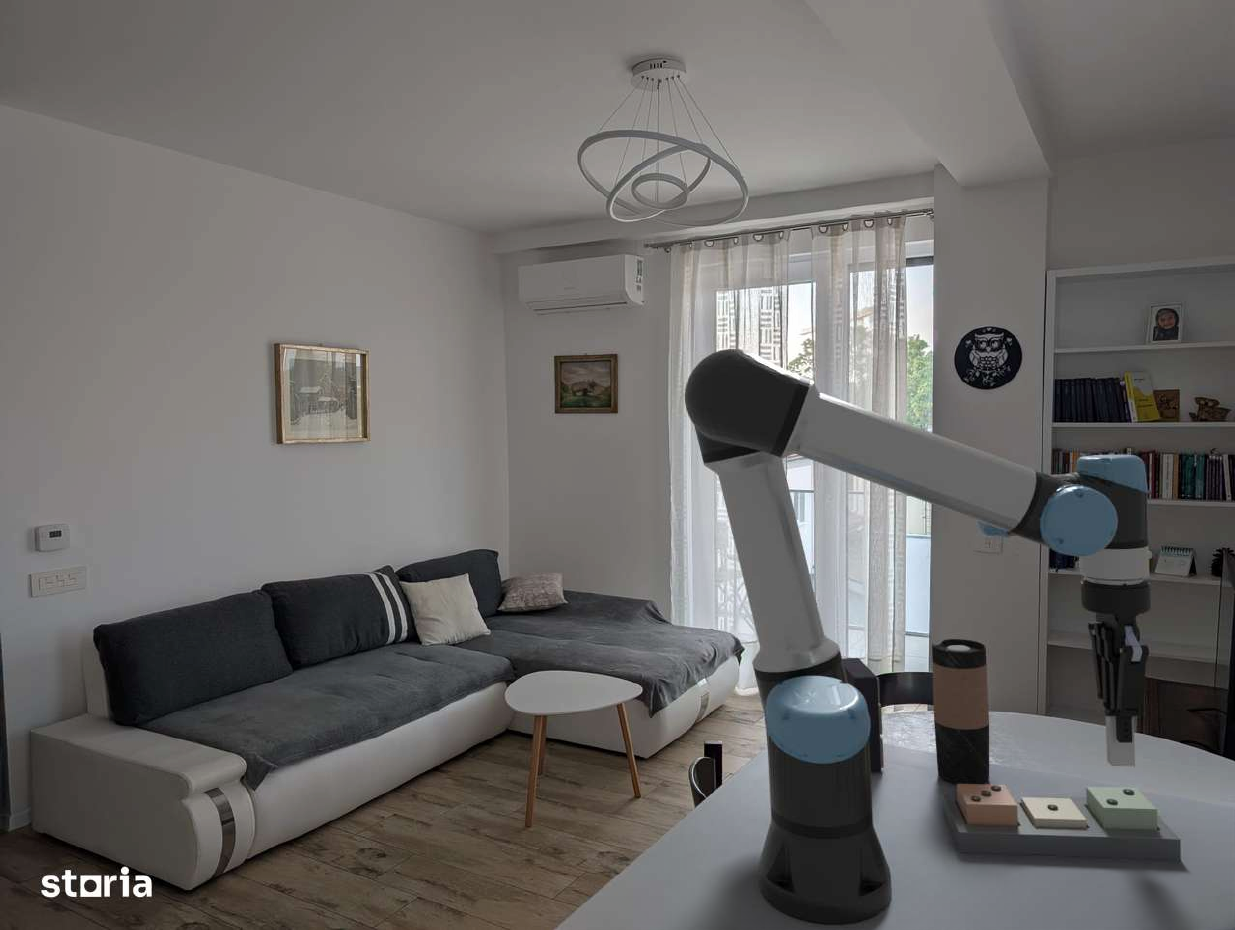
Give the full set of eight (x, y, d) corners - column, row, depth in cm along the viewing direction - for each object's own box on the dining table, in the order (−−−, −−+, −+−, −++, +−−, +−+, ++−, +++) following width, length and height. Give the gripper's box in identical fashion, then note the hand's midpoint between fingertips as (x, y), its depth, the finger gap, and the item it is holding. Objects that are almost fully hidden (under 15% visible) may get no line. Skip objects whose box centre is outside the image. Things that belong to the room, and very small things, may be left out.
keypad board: (959, 851, 106) (959, 832, 106) (942, 811, 117) (942, 793, 117) (1180, 859, 102) (1180, 839, 101) (1142, 816, 112) (1141, 798, 112)
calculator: (886, 772, 130) (882, 676, 130) (858, 774, 130) (854, 678, 130) (866, 745, 141) (862, 656, 141) (840, 746, 141) (836, 658, 141)
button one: (1035, 841, 107) (1034, 816, 107) (1021, 819, 113) (1021, 795, 113) (1087, 843, 106) (1086, 818, 106) (1070, 820, 112) (1070, 796, 112)
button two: (1104, 831, 105) (1103, 806, 105) (1086, 809, 111) (1086, 785, 111) (1157, 833, 104) (1156, 807, 104) (1137, 810, 110) (1136, 786, 110)
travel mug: (996, 788, 123) (991, 652, 122) (940, 787, 124) (935, 652, 123) (984, 767, 130) (980, 638, 129) (932, 765, 132) (927, 638, 131)
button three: (967, 826, 108) (966, 802, 108) (957, 805, 114) (956, 782, 114) (1017, 828, 107) (1017, 803, 107) (1005, 806, 113) (1004, 783, 113)
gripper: (1171, 588, 99) (1177, 786, 100) (1126, 568, 112) (1132, 744, 113) (1101, 590, 100) (1108, 785, 102) (1064, 569, 113) (1071, 743, 114)
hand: (1121, 763), depth 107 cm, fingers closed
